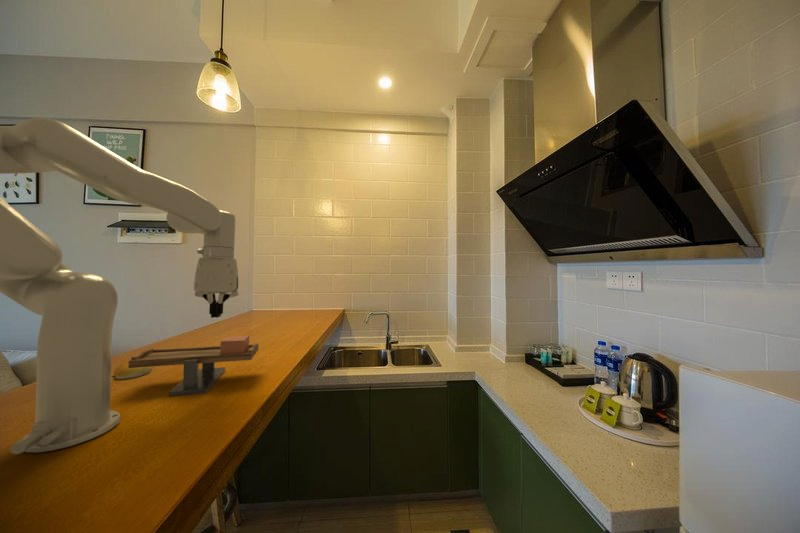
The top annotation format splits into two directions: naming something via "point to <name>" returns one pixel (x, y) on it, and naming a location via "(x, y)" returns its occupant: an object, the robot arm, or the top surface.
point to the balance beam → (187, 356)
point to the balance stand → (197, 378)
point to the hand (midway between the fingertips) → (216, 316)
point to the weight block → (234, 344)
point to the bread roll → (130, 371)
